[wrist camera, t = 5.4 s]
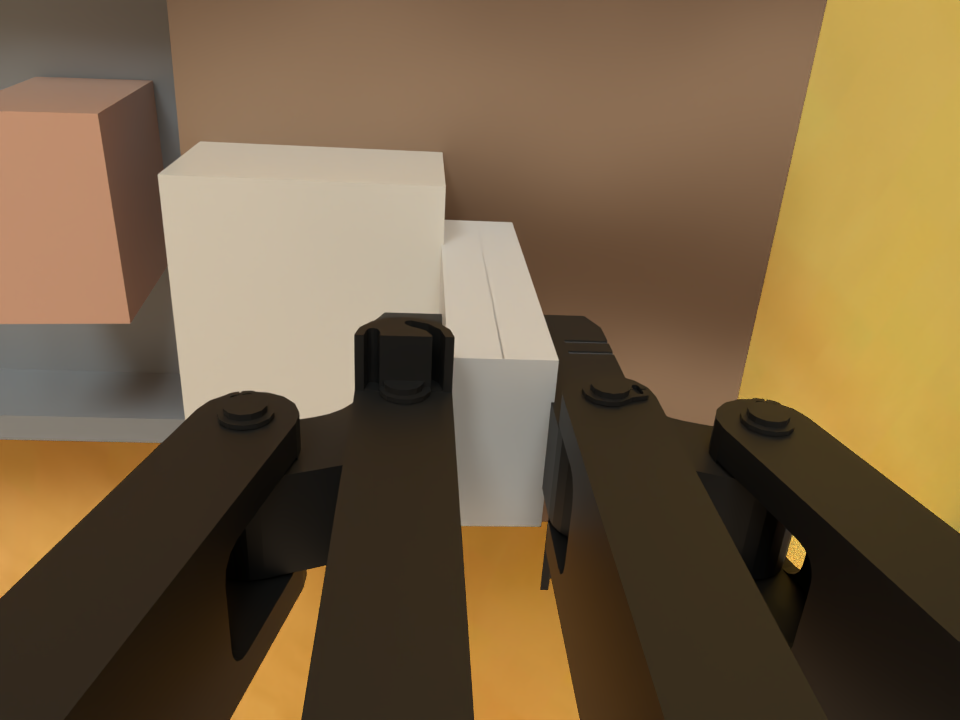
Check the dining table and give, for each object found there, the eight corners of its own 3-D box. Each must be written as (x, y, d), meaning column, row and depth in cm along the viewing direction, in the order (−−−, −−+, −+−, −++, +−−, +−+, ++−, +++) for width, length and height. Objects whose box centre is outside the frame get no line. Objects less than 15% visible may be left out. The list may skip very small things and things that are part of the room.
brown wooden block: (235, -90, 21) (155, -113, 15) (723, -53, 22) (840, -61, 16) (262, 389, 27) (214, 516, 21) (645, 399, 28) (709, 523, 22)
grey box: (-261, -127, 20) (-387, -144, 17) (235, -90, 21) (202, -100, 18) (-119, 379, 26) (-193, 435, 23) (262, 389, 27) (241, 444, 24)
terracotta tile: (152, 80, 22) (35, 76, 22) (97, 113, 18) (-51, 109, 17) (174, 254, 24) (68, 254, 24) (130, 323, 20) (-1, 323, 20)
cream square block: (200, 141, 17) (157, 174, 14) (442, 152, 17) (445, 186, 15) (219, 359, 19) (185, 424, 16) (434, 365, 19) (436, 428, 17)
